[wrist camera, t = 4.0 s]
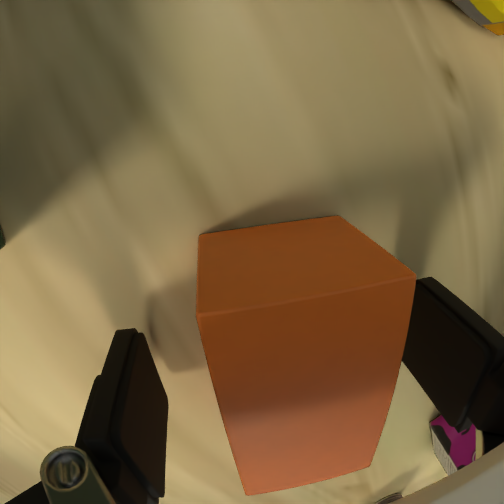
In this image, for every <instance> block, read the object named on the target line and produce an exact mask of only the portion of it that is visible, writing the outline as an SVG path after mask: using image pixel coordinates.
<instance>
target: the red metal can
mask: <svg viewBox="0 0 504 504" xmlns="http://www.w3.org/2000/svg"><path fill="white" fill-rule="evenodd" d="M400 498H403V497H402V495H401V494H400V493H398V494H394V495H391V496H388V497H386V498H384V499H382V500H380V501H379V502H377V503H375V504H388V503H391V502H393V501H396V500H398V499H400Z"/></svg>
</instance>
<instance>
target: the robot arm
mask: <svg viewBox="0 0 504 504" xmlns="http://www.w3.org/2000/svg"><path fill="white" fill-rule="evenodd" d="M402 361H403V363H404V364H405V365H406V367H407V368H408V369H409V371H410V372H411V373H412V375H413V376H414V377H415V379H416V380H417V382H418V383H419V384H420V386H421V387H422V388H423V390H424V391H425V392H426V394H427V395H428V397H429V398H430V399H431V401H432V402H433V404H434V405H435V406H436V408H437V409H438V411H439V412H440V413H441V415H442V416H443V418H444V419H445V421H446V422H447V423H448V425H449V426H451V427H454V428H455V429H456V431H457V432H458V433H460V432H462V431H464V430H466V429H468V428H469V427H471V425H472V424H473V425H474V426H475V427H476V457H475V461H474V462H472V463H470V464H469V465H467V466H465V467H463V468H462V469H460V470H458V471H456V472H454V473H453V474H451V475H449V476H447V477H445V478H443V479H441V480H439V481H437V482H435V483H433V484H431V485H429V486H427V487H425V488H423V489H421V490H419V491H416V492H414V493H412V494H410V495H407V496H405V497H403V498H400V499H398V500H396V501H393V502H391V503H388V504H504V337H503V336H502V335H501V334H500V333H499V332H498V331H497V330H495V329H494V328H493V327H492V326H491V325H490V324H489V323H488V322H486V321H485V320H484V319H483V318H482V317H481V316H479V315H478V314H477V313H476V312H475V311H474V310H472V309H471V308H470V307H469V306H468V305H466V304H465V303H464V302H463V301H462V300H460V299H459V298H458V297H457V296H456V295H454V294H453V293H452V292H451V291H449V290H448V289H447V288H446V287H444V286H443V285H442V284H441V283H439V282H438V281H437V280H436V279H434V278H433V277H426V278H422V279H418V280H416V285H415V292H414V298H413V305H412V311H411V316H410V322H409V327H408V333H407V338H406V342H405V347H404V352H403V356H402ZM167 421H168V398H167V395H166V392H165V390H164V387H163V385H162V382H161V380H160V377H159V374H158V372H157V369H156V366H155V364H154V361H153V358H152V355H151V353H150V350H149V347H148V344H147V341H146V338H145V336H144V334H143V333H142V332H141V333H138V331H137V330H136V329H135V328H132V329H122V330H117V331H116V332H115V335H114V337H113V340H112V343H111V346H110V349H109V352H108V355H107V358H106V361H105V364H104V367H103V370H102V373H101V375H98V376H97V377H96V378H95V380H94V383H93V386H92V389H91V392H90V396H89V399H88V402H87V405H86V409H85V412H84V415H83V419H82V422H81V426H80V429H79V433H78V436H77V440H76V444H75V447H74V446H63V447H60V448H56V449H55V450H53V451H51V452H50V453H49V454H48V455H47V456H46V457H45V458H44V460H43V462H42V464H41V468H40V476H41V481H40V482H39V483H37V484H36V485H34V486H32V487H31V488H29V489H28V490H26V491H24V492H23V493H21V494H20V495H18V496H16V497H15V498H13V499H11V500H10V501H8V502H6V503H5V504H159V497H164V494H165V462H166V439H167Z"/></svg>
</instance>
